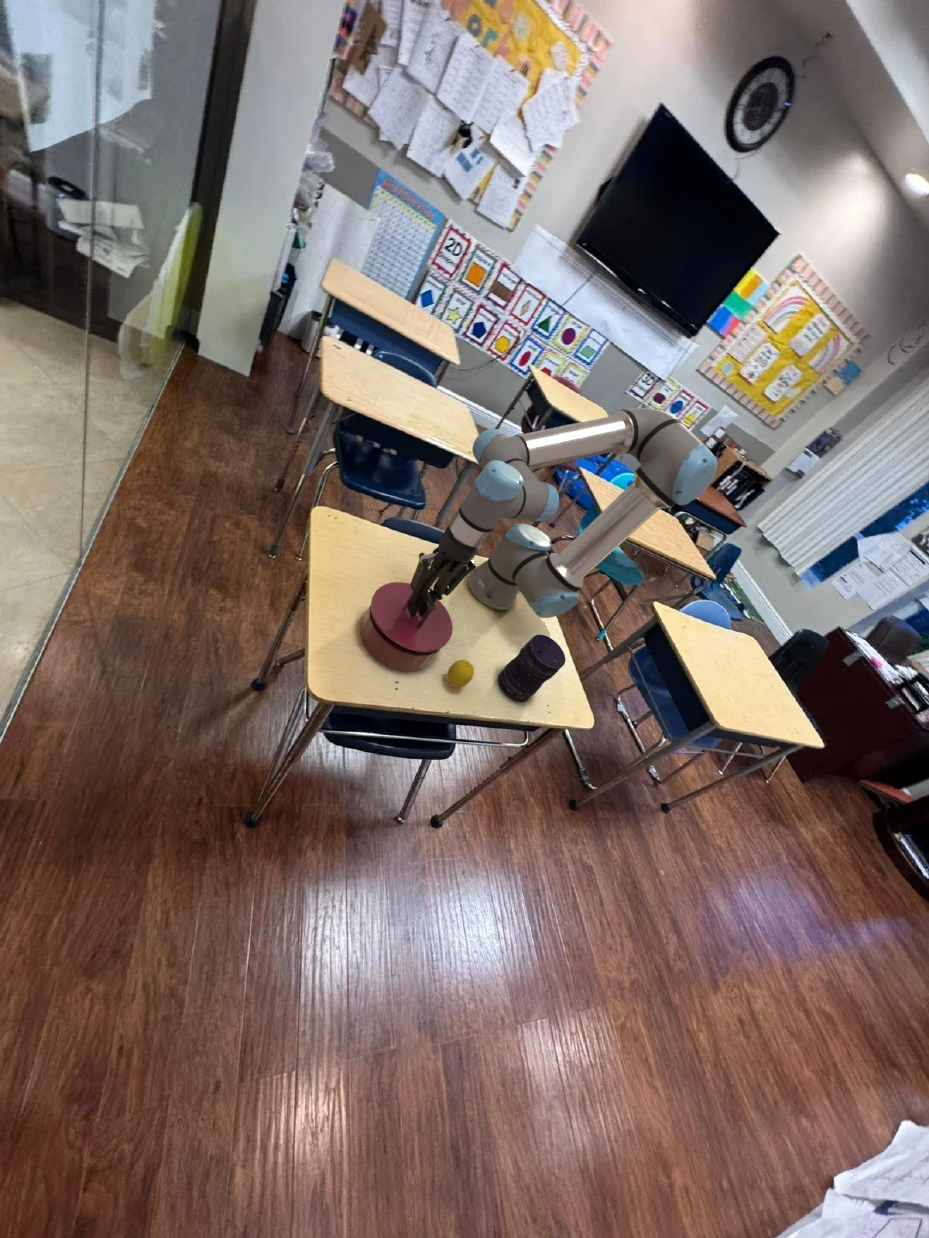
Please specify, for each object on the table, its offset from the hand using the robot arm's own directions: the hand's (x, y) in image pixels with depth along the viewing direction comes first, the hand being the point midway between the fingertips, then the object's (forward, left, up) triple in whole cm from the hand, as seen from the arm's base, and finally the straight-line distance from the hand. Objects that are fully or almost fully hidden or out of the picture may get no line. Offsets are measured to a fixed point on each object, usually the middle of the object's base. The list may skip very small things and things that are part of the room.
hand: (415, 612), depth 114 cm
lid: (0, 0, -2) cm, 2 cm away
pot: (0, 0, -10) cm, 10 cm away
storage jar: (-28, +15, -10) cm, 33 cm away
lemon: (-10, +13, -10) cm, 19 cm away
